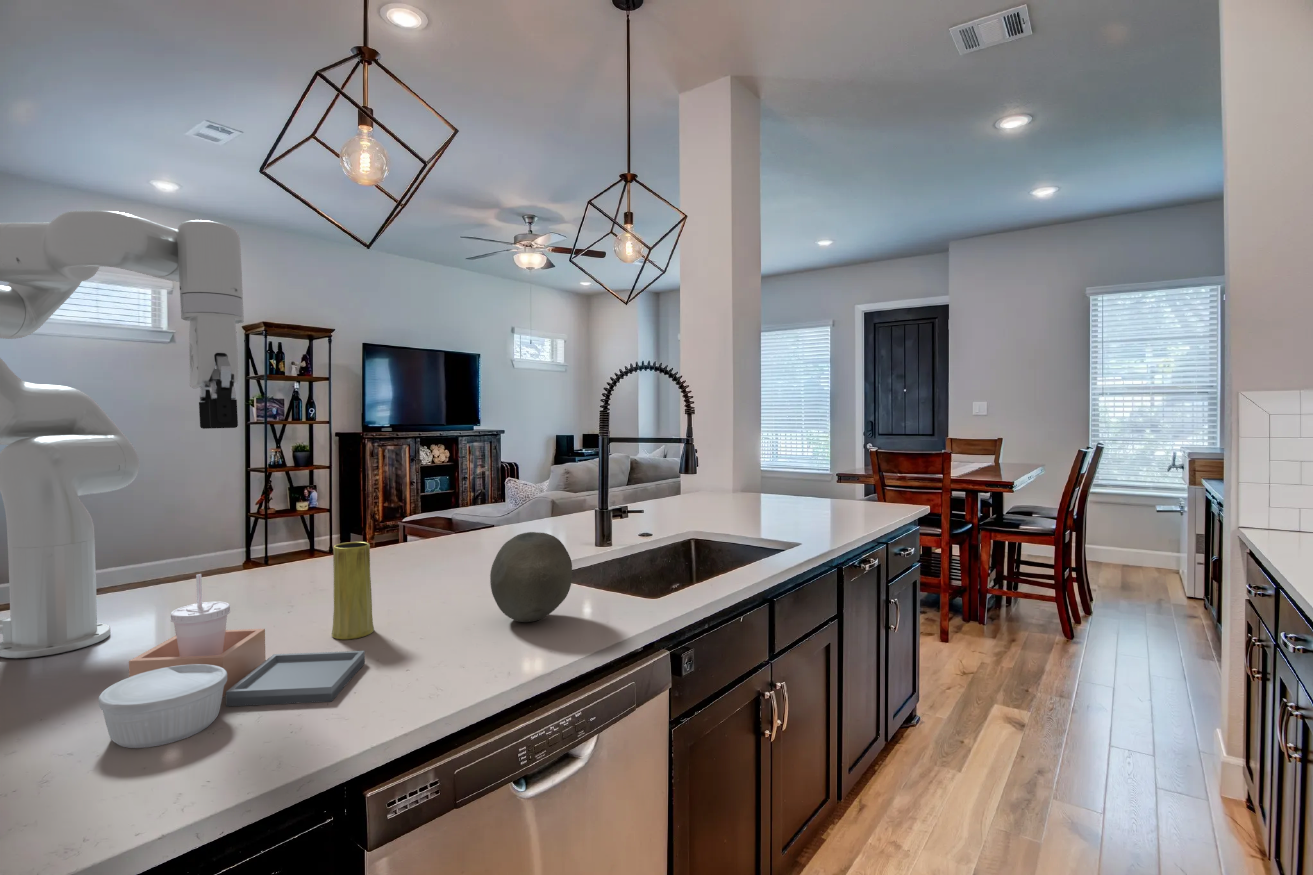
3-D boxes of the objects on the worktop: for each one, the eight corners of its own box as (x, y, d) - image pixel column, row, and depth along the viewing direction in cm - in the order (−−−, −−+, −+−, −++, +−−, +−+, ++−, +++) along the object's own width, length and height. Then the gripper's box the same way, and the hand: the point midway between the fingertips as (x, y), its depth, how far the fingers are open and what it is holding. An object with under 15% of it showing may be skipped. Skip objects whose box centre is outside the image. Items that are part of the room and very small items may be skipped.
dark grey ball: (472, 630, 103) (471, 538, 103) (516, 605, 117) (516, 524, 116) (551, 639, 99) (550, 544, 99) (587, 612, 113) (587, 528, 112)
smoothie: (222, 667, 88) (220, 567, 87) (239, 680, 84) (237, 574, 83) (165, 682, 83) (162, 576, 82) (180, 696, 79) (177, 584, 78)
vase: (357, 641, 98) (356, 549, 98) (322, 638, 99) (321, 547, 99) (381, 628, 104) (380, 541, 104) (348, 625, 105) (347, 540, 105)
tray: (226, 706, 76) (225, 691, 76) (274, 666, 88) (273, 654, 88) (331, 701, 78) (331, 686, 78) (364, 663, 90) (364, 650, 90)
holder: (130, 701, 78) (128, 660, 77) (184, 667, 88) (183, 631, 88) (223, 697, 79) (222, 657, 79) (265, 663, 89) (264, 628, 89)
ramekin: (248, 705, 77) (247, 662, 77) (183, 754, 66) (182, 704, 66) (153, 706, 77) (152, 663, 76) (71, 756, 65) (69, 705, 65)
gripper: (173, 316, 96) (179, 429, 97) (188, 298, 84) (195, 428, 84) (232, 320, 102) (237, 427, 102) (255, 304, 89) (260, 427, 89)
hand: (218, 428), depth 93 cm, fingers open, 9 cm apart
